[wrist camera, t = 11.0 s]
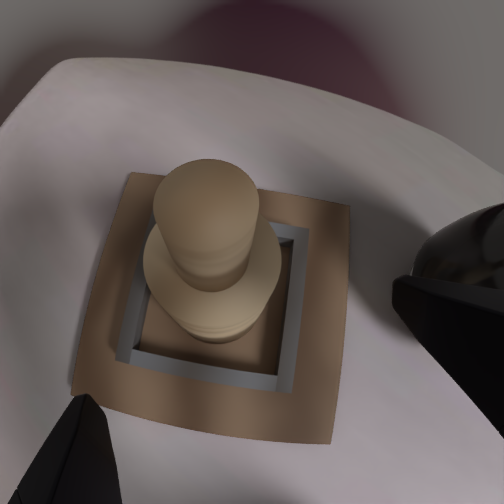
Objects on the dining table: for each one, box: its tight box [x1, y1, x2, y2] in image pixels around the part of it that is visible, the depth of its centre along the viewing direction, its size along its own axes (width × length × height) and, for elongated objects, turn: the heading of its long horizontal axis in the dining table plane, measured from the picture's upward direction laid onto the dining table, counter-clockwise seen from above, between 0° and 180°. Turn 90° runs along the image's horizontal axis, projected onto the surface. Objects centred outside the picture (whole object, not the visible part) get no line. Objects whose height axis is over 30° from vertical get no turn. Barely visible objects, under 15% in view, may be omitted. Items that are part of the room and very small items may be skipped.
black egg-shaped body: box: [410, 203, 504, 290], centre depth 16 cm, size 10×10×15 cm
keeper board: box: [71, 172, 350, 444], centre depth 21 cm, size 18×18×2 cm
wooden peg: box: [143, 159, 281, 344], centre depth 15 cm, size 6×6×12 cm
